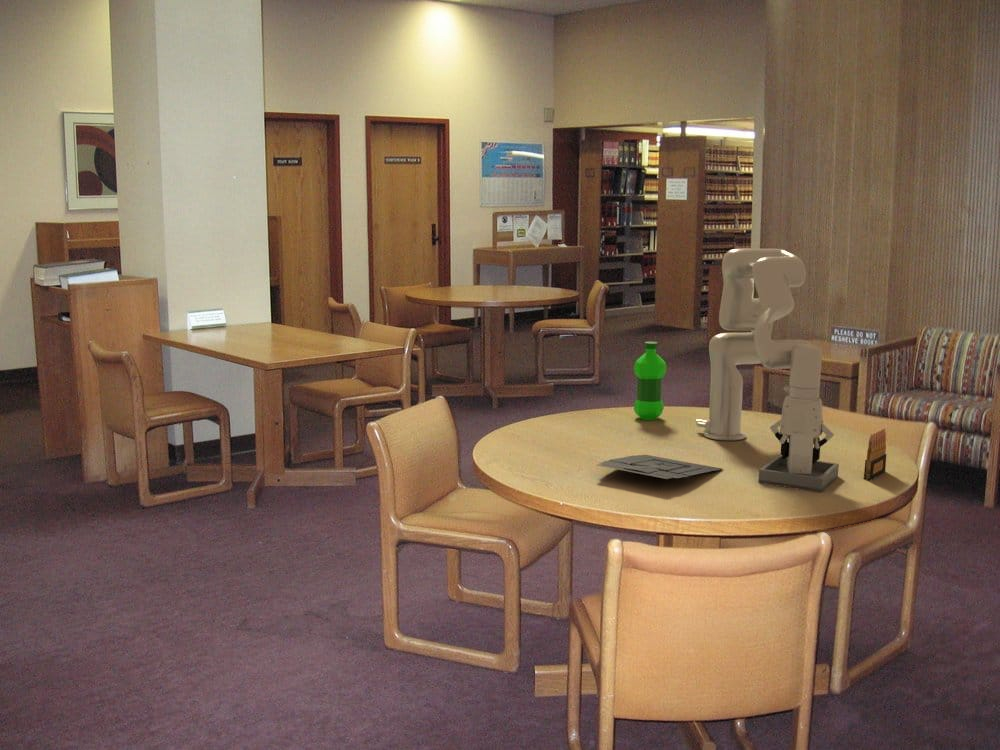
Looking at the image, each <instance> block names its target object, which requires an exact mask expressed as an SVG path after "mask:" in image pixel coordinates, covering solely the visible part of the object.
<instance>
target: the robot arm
mask: <svg viewBox="0 0 1000 750" xmlns="http://www.w3.org/2000/svg"><path fill="white" fill-rule="evenodd" d="M721 271H722V277H723V278H722V279H723V288H722V294H721V301H720V307H719V315H718V322H719V326H720V327H721V328H722V329H724V330H726V331H733V332H722V333H719V334H716V335H714V336H712V338H711V339H710V340H709V342H708V343H709V344H708V351H709V359H710V360H709V361H710V393H709V412H708V413H709V415H708V417H709V418H708V419H706V420H704V419H700V418H697V419H696V421H695V425H696V426H697V427H699V428H704V430H703V433H702V435H703V436H704V437H706V438H708V439H711V440H716V441H740V440H744V439H745V438H746V435H747V434H746V432H744V431H743V430H741V427H742V426H741V425H742V410H743V409H742V407H743V406H742V405H743V387H744V379H743V375H742V374H741V373H740V371H739V370H738V368H737V366H738V365H756V364H757V365H759V364H762V366H763V367H764V368H766V369H770V370H782V369H790V370H789V371H790V372H789V383H788V384H789V385H786V386H783V389H782V390H783V392H786V393H787V396H785V398H784V399H783V400H784V401H783V405H782V408H781V416H780V419H779V420H778V421H777V422H776V423H774V424H772V425H771V426H770V427H769V429H770V431H772V433H773V435H774V436H775V438H776V439H777V440H778V441H779V444H780V455H781V456H782V459H786V458H787V457H788V450H789V436H791V433H802V434H810V435H813V438H814V439H813V456H812V463H814V464H815V463H816V462H817V461H820V458H821V457H820V456H821V455H820V454H821V447H822V446H823V445H826V443H828V442H829V441H830V440H831V439H832V438H833V437H834V436H835V435H834V433H833V432H832V431H831V430H830V429H829V427H828V426H827V425H826V424H824V410H823V407H824V406H823V401H822V399H821V398H820V390H821V389H820V388H821V374H822V361H823V352H822V351H823V349H822V348H821V347H820V346H818V345H814V344H812V343H811V342H810V341H809V340H805V339H772V338H771V337H772V332H773V326H774V322H775V321H778V320H779V319H781V318H784V317H786V316H788V314H790V313H791V312H792V311H793V310H794V308H795V301H794V297H793V295H792V291H791V288H798V287H801V286H802V285H803V284H804V283H805V281H806V278H807V270H806V266H805V264H804V262H803V261H802V259H801V258H800V257H799V256H797V255H795V254H793V253H791V252H789V251H788V250H785V249H781V248H751V247H750V248H745V247H744V248H733V249H730V250H728V251H727V252H726V253H725V254H724V256H723V258H722V263H721ZM752 280H753V281H752ZM753 282H754V284H753ZM754 285H755V286H754ZM754 287H755V290H756V293H757V296H758V297H756V298H755V297H753V292H754ZM752 297H753V298H752ZM734 331H735V332H734ZM737 331H739V332H737ZM745 331H746V332H745ZM747 331H750V332H747ZM822 434H825V436H824V437H823V438H822V439H821V438H820V436H822Z"/></svg>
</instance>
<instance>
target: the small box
mask: <svg viewBox="0 0 1000 750" xmlns="http://www.w3.org/2000/svg"><path fill="white" fill-rule="evenodd" d="M813 439H814V438H813V435H810V434H802V433H791V436H789V438H788V443H789V450H788V460H787V466H788V469H789V473H796V474H811V472H812V456H813V448H814V444H813Z"/></svg>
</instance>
